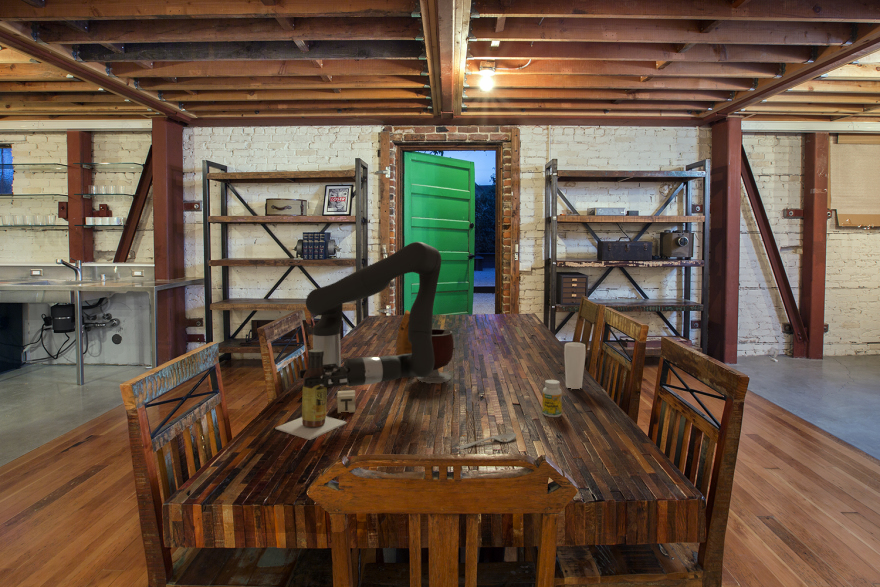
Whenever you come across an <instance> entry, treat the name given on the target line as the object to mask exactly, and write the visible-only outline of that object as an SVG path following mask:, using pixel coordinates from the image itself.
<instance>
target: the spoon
mask: <svg viewBox="0 0 880 587" xmlns="http://www.w3.org/2000/svg"><path fill="white" fill-rule="evenodd" d="M516 437H517V433H516V432H507V433H506V432H505V433H502V434H497V435H493V436H489V437H486V438H483V439H480V440H476V441H473V442H470V443H465V444H462V446H461V445H459V446H460V447H458V446H456V447H457V448H460V449H462V450H465V449H464V448H466V449H467V448H468V449H469V448H470V447H472V446H475V445H477V444H481V443H483V442H487V441H489V440H496V441H498V442H502V443H509V442H511V441H513V440H515V439H516ZM502 439H506V440H502Z"/></svg>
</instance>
